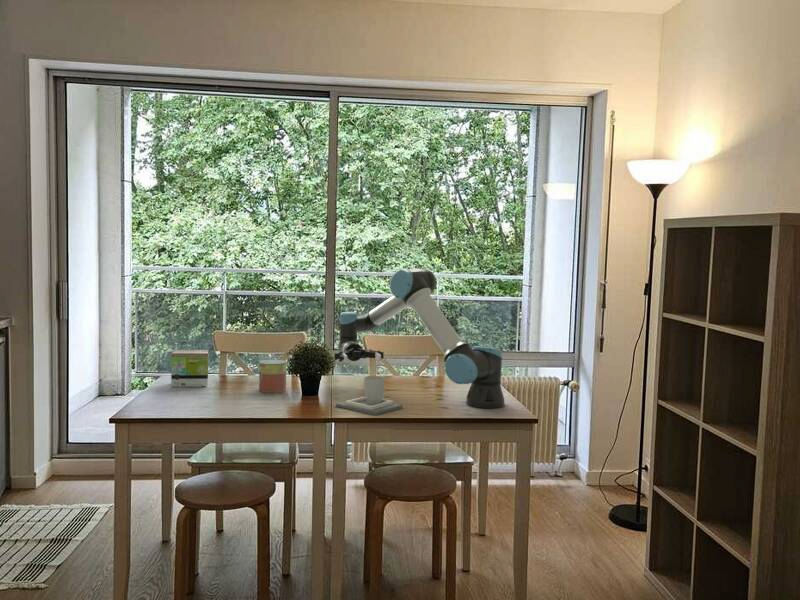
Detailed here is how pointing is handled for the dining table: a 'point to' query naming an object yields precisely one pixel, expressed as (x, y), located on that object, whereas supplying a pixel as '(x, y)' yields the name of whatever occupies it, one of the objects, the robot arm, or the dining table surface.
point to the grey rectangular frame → (369, 406)
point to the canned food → (272, 375)
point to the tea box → (189, 368)
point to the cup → (374, 389)
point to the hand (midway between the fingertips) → (363, 358)
